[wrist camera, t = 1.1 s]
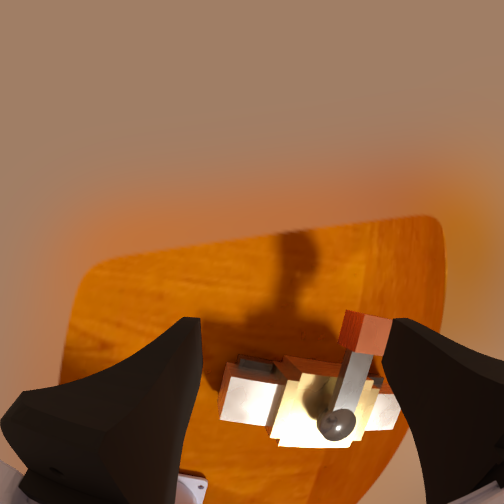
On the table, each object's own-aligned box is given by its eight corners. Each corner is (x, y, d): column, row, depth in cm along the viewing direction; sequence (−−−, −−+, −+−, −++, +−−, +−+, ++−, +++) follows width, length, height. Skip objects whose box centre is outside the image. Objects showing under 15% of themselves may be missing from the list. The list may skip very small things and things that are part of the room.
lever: (338, 430, 18) (353, 446, 15) (308, 429, 17) (320, 447, 15) (374, 315, 18) (395, 320, 16) (344, 309, 18) (363, 314, 16)
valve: (366, 423, 23) (394, 447, 18) (213, 409, 21) (217, 442, 16) (385, 368, 23) (419, 384, 18) (230, 344, 21) (237, 364, 16)
